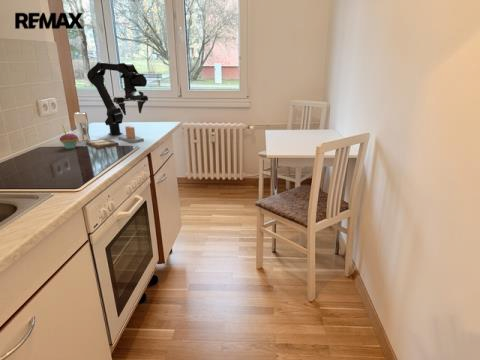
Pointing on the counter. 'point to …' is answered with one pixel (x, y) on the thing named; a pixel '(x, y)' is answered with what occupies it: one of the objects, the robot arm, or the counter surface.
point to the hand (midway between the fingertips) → (132, 114)
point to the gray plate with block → (130, 136)
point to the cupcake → (69, 140)
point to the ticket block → (102, 143)
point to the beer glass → (82, 125)
